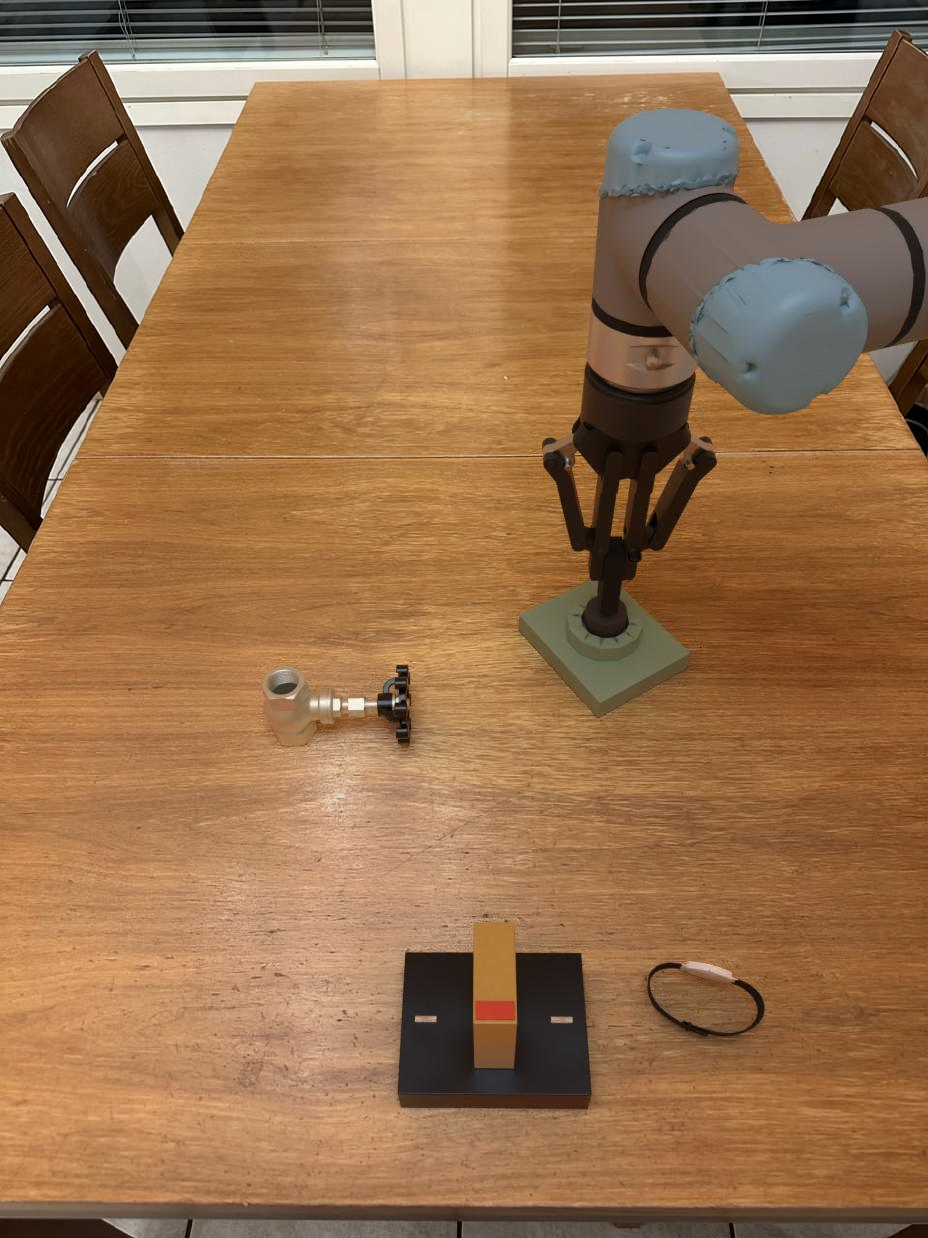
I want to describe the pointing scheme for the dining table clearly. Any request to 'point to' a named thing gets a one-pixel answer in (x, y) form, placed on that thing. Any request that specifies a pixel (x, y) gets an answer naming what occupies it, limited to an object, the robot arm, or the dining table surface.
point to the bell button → (604, 619)
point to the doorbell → (602, 649)
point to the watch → (711, 974)
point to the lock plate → (445, 1043)
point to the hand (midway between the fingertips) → (607, 601)
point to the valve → (328, 705)
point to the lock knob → (494, 995)
